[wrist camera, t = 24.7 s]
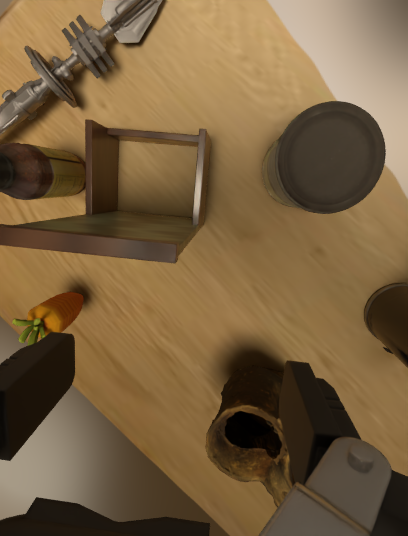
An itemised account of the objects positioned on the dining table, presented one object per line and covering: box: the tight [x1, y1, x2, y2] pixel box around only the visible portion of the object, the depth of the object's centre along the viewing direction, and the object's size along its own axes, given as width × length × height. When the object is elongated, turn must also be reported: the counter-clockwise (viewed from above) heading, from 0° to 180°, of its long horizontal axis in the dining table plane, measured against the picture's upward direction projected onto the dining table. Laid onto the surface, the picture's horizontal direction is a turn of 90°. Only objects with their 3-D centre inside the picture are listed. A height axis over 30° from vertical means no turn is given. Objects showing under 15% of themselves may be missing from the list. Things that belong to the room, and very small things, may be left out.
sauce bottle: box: [0, 143, 86, 200], centre depth 36 cm, size 7×6×20 cm
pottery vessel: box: [206, 366, 295, 507], centre depth 43 cm, size 25×11×20 cm, turn 42°
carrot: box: [13, 292, 84, 346], centre depth 43 cm, size 5×5×15 cm
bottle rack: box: [0, 120, 211, 263], centre depth 33 cm, size 14×12×25 cm
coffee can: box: [262, 101, 386, 214], centre depth 37 cm, size 10×10×14 cm
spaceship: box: [0, 0, 162, 135], centre depth 39 cm, size 8×35×8 cm
